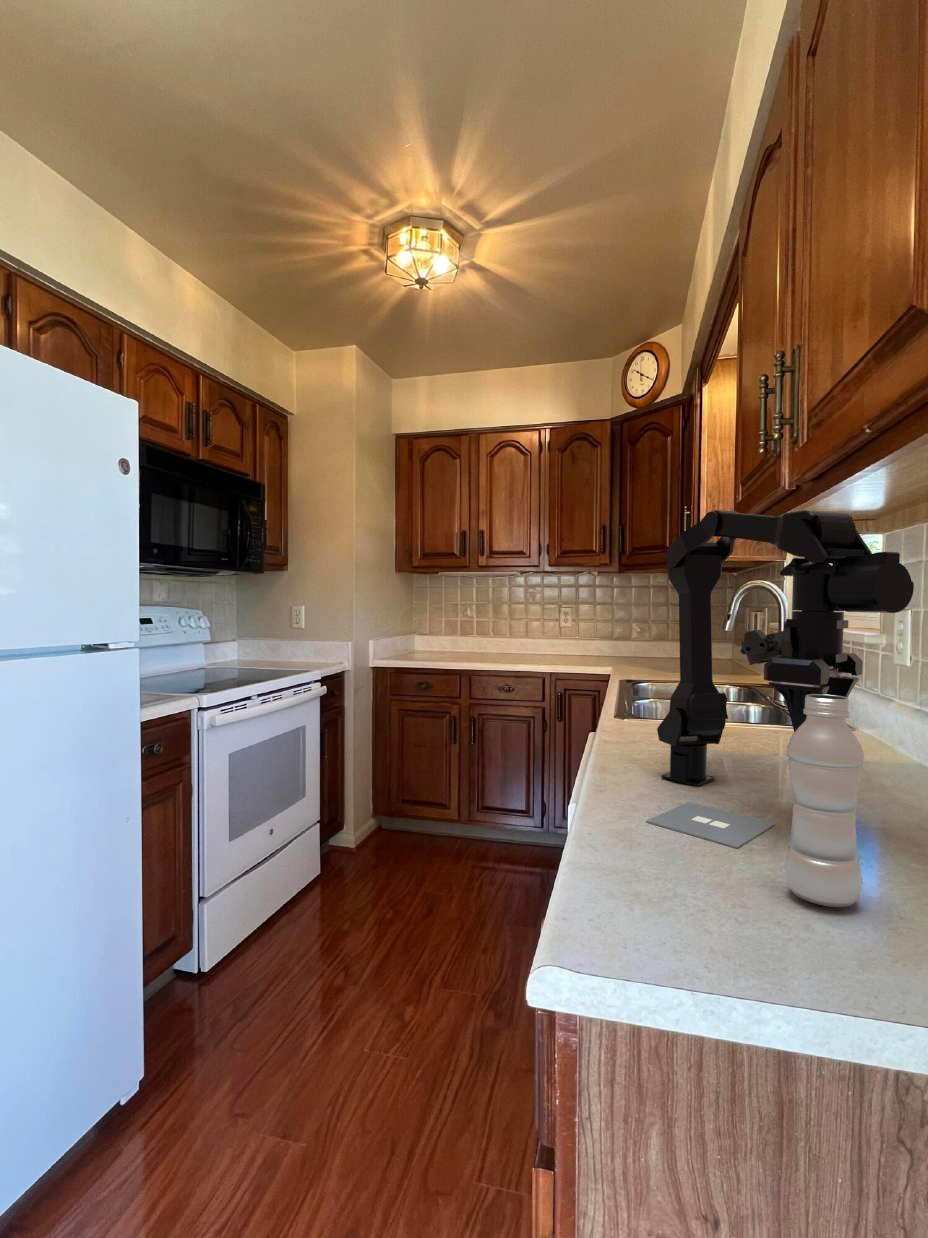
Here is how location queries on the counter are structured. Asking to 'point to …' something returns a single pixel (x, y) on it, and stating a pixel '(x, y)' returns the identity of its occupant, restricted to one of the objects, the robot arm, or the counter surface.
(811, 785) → the plastic bottle
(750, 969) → the counter surface
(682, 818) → the mat
